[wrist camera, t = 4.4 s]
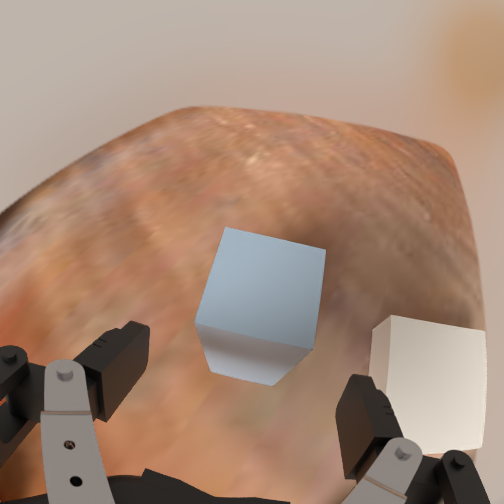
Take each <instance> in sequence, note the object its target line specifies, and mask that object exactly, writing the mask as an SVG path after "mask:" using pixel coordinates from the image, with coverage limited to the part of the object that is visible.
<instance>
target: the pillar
mask: <svg viewBox="0 0 504 504" xmlns="http://www.w3.org/2000/svg"><path fill="white" fill-rule="evenodd" d="M325 255H326V250H325V249H321V248H316V247H312V246H308V245H304V244H299V243H295V242H291V241H286V240H282V239H277V238H273V237H269V236H264V235H260V234H255V233H251V232H246V231H242V230H237V229H233V228H228V227H225V230H224V233H223V236H222V239H221V242H220V245H219V248H218V251H217V254H216V257H215V260H214V263H213V266H212V269H211V272H210V275H209V278H208V281H207V284H206V287H205V290H204V293H203V296H202V300H201V303H200V306H199V309H198V312H197V315H196V318H195V322H194V323H195V326H196V329H197V332H198V335H199V338H200V341H201V344H202V347H203V350H204V353H205V356H206V359H207V362H208V365H209V368H210V371H211V372H214V373H218V374H222V375H225V376H230V377H234V378H238V379H242V380H246V381H251V382H255V383H260V384H265V385H270V386H273V385H274V384H275V383H277V382H278V381H279V380H280V379H281V378H282V377H283V376H285V375H286V374H287V373H288V372H289V371H290V370H291V369H292V368H294V367H295V366H296V365H297V364H298V363H299V362H300V361H301V360H302V359H303V358H304V357H306V356H307V355H308V354H309V353H310V352H311V351H312V350H313V346H314V340H315V334H316V327H317V320H318V313H319V306H320V298H321V290H322V282H323V274H324V265H325Z"/></svg>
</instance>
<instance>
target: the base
mask: <svg viewBox="0 0 504 504" xmlns="http://www.w3.org/2000/svg"><path fill="white" fill-rule="evenodd" d="M368 376H371V377H372V379H373V381H374V384H375V386H376V389H379V390H381V391H382V392H383V393H384V394H385V395H386V396H387V397H388V399H389V401H390V403H391V406H392V408H393V411H394V413H395V414H394V415H395V416H396V418H397V421H398V423H399V426H400V428H401V431H402V433H403V436H404V438H407V439H409V440H412V441H413V442H415V443H416V444H417V445H418V446H419V447H420V448H421V450H422V454H436V453H446V452H447V451H449V450H459V451H463V450H470V449H477V448H482V442H483V433H484V423H485V410H486V387H487V358H486V337H485V331H481V330H475V329H469V328H463V327H457V326H451V325H445V324H439V323H434V322H428V321H423V320H417V319H412V318H406V317H401V316H396V315H390V316H389V317H388V318H386V319H385V320H384V321H383V322H381V323H380V324H379V325H378V326H376V327H375V328H374V329H373V330H372V343H371V355H370V365H369V374H368Z"/></svg>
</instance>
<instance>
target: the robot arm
mask: <svg viewBox="0 0 504 504" xmlns="http://www.w3.org/2000/svg"><path fill="white" fill-rule="evenodd" d="M149 337H150V328H149V326H147V325H144V324H141V323H138V322H135V321H129V322H128V323H127V324H126V325H125V326H124V327H123V328H122V329H118V328H115V329H112V330H109V331H106V332H105V333H104V334H102V335H101V336H100V337H99V338H98V339H97V340H95V341H94V342H93V344H91V345H90V346H88V347H87V348H86V349H85V350H84V351H83V352H81V353H80V354H79V355H78V356H77V357H76V358H74V359H73V360H68V359H60V360H55V361H53V362H51V363H49V364H48V365H47V367H45V366H41V365H37V364H33V363H29V362H28V357H27V353H26V352H25V351H24V350H23V349H22V348H20V347H17V346H12V345H9V346H3V347H0V401H1V400H2V399H3V398H4V397H5V400H6V401H5V402H4V403H3V404H2V405H1V406H0V468H1V467H2V465H3V464H4V463H5V462H6V460H7V459H8V458H9V457H10V455H11V454H12V453H13V452H14V450H15V449H16V448H17V447H18V446H19V444H20V443H21V442H22V441H23V439H24V438H25V437H26V436H27V435H28V433H29V432H30V431H31V430H32V429H33V427H34V426H35V425H36V424H37V423H38V422H39V423H41V441H42V454H43V465H44V473H45V481H46V488H47V494H42V495H38V496H33V497H28V498H22V499H17V500H11V501H4V502H0V504H290V502H285V501H277V500H269V499H262V498H256V497H247V498H227V497H214V496H212V495H209V494H207V493H205V492H203V491H201V490H199V489H197V488H195V487H193V486H191V485H189V484H187V483H185V482H183V481H181V480H179V479H176V478H172V477H169V476H166V475H163V474H160V473H157V472H155V471H152V470H149V469H146V468H145V470H144V472H143V474H142V476H134V475H115V476H109V477H106V473H105V470H104V466H103V462H102V459H101V455H100V451H99V447H98V443H97V438H96V434H95V429H94V424H93V422H94V421H95V419H96V418H97V419H100V420H102V421H104V422H106V423H107V421H108V420H109V419H110V417H111V416H112V415H113V413H114V412H115V410H116V409H117V408H118V406H119V405H120V404H121V402H122V401H123V400H124V398H125V397H126V396H127V394H128V393H129V392H130V390H131V389H132V388H133V386H134V385H135V384H136V382H137V381H138V380H139V378H140V377H141V376H142V374H143V373H144V371H145V369H146V366H147V363H148V353H149ZM394 414H395V413H394V411H393V408H392V406H391V403H390V401H389V399H388V397H387V396H386V395H385V394H384V393H383V392H382V391H381V390H379V389H376V386H375V384H374V381H373V379H372V377H371V376H364V375H357V374H353V375H352V376H351V377H350V379H349V381H348V383H347V385H346V388H345V390H344V392H343V394H342V396H341V398H340V400H339V403H338V405H337V408H336V424H337V430H338V436H339V442H340V449H341V456H342V462H343V469H344V477H345V479H352V480H356V482H357V484H356V486H355V487H354V488H353V489H352V491H351V492H350V493H349V494H348V495H347V497H346V498H345V499H344V500H343V501H342V502H341V504H442V503H443V502H444V504H490V501H489V499H488V496H487V494H486V491H485V489H484V487H483V484H482V482H481V479H480V477H479V475H478V472H477V470H476V468H475V466H474V464H473V461H472V460H471V458H470V457H469V456H468V455H467V454H466V453H464V452H462V451H459V450H449V451H447V452H446V453H445V454H444V455H443V456H442V457H441V459H438V458H433V457H428V456H424V455H423V454H422V450H421V448H420V447H419V446H418V445H417V444H416V443H415V442H413V441H412V440H409V439H407V438H404V436H403V433H402V431H401V428H400V426H399V423H398V421H397V418H396V416H395V415H394Z"/></svg>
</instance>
